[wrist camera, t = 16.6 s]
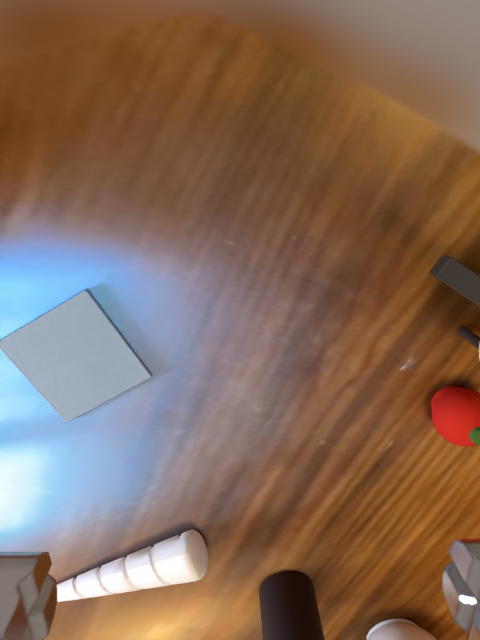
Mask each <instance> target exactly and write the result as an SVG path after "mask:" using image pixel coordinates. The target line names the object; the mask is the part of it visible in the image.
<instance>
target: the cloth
mask: <svg viewBox="0 0 480 640" xmlns="http://www.w3.org/2000/svg"><path fill="white" fill-rule="evenodd" d="M0 349H1V350H2V352H3V353H4V354H5V355H6V356H7V357H8V358H9V359H10V360H11V362H12V363H13V364H14V365H15V366H16V367H17V368H18V369H19V370H20V372H21V373H22V374H23V375H24V376H25V377H26V378H27V379H28V380H29V382H30V383H31V384H32V385H33V386H34V387H35V388H36V389H37V390H38V392H39V393H40V394H41V395H42V396H43V397H44V398H45V399H46V400H47V402H48V403H49V404H50V405H51V406H52V407H53V408H54V409H55V411H56V412H57V413H58V414H59V415H60V416H61V417H62V418H63V419H64V421H65V422H68V421H70V420H72V419H74V418H76V417H78V416H80V415H81V414H83V413H85V412H87V411H89V410H91V409H93V408H95V407H96V406H98V405H100V404H102V403H104V402H106V401H108V400H110V399H111V398H113V397H115V396H117V395H119V394H121V393H123V392H124V391H126V390H128V389H130V388H132V387H134V386H136V385H138V384H139V383H141V382H143V381H145V380H147V379H149V378H151V377H152V375H151V373H150V372H149V371H148V369H147V368H146V367H145V365H144V364H143V363H142V361H141V360H140V359H139V357H138V356H137V355H136V353H135V352H134V351H133V349H132V348H131V347H130V345H129V344H128V343H127V341H126V340H125V339H124V337H123V336H122V335H121V333H120V332H119V331H118V329H117V328H116V327H115V325H114V324H113V323H112V322H111V320H110V319H109V318H108V316H107V315H106V314H105V312H104V311H103V310H102V308H101V307H100V306H99V304H98V303H97V302H96V300H95V299H94V298H93V296H92V295H91V294H90V292H89V291H88V290H87V289H86V290H84V291H82V292H81V293H79V294H77V295H76V296H74V297H72V298H70V299H69V300H67V301H65V302H64V303H62V304H60V305H59V306H57V307H55V308H54V309H52V310H50V311H48V312H47V313H45V314H43V315H42V316H40V317H38V318H37V319H35V320H33V321H32V322H30V323H28V324H26V325H25V326H23V327H21V328H20V329H18V330H16V331H15V332H13V333H11V334H10V335H8V336H6V337H4V338H3V339H1V340H0Z"/></svg>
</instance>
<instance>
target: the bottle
mask: <svg viewBox="0 0 480 640" xmlns="http://www.w3.org/2000/svg"><path fill="white" fill-rule="evenodd" d="M260 608H261V620H262V632H263V640H324V635H323V630H322V625H321V621H320V616H319V611H318V606H317V601H316V596H315V592H314V588H313V585H312V583H311V581H310V580H309V579H308V578H307V577H306V576H303V575H301V574H299V573H294V572H282V573H278V574H275V575H273V576H271V577H269V578H268V579H267V580H266V581H265V582H264V583H263V584H262V586H261V588H260Z"/></svg>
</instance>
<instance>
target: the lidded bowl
mask: <svg viewBox="0 0 480 640" xmlns="http://www.w3.org/2000/svg"><path fill="white" fill-rule="evenodd" d="M366 640H437V639H436V638H435V637H434V636H432V635H431V634H430V633H429V632H427V631H426V630H424V629H422V628H420V627H418V626H417V625H416V624H415V623H414V622H412V621H410V620H407V619H401V618H396V619H389V620H385V621H382V622H380V623H378V624H376V625H375V626H374V627H372V628H371V629H370V631H369V632H368V634H367V638H366Z"/></svg>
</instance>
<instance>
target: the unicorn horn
mask: <svg viewBox="0 0 480 640" xmlns="http://www.w3.org/2000/svg"><path fill="white" fill-rule="evenodd" d="M207 566H208V555H207V549H206V545H205V542H204V540H203V538H202V536H201V535H200V533H199V532H197V531H195V530H193V529H192V530H188V531H186V532H184V533H182V534H181V536H179V535H176V536H174V537H171V538H169V539H166V540H164V541H161V542H159V543H156V544H155V545H154V546H153V547H152V546H149V547H146V548H144V549H142V550H139V551H137V552H134V553H132V554H129V555H127V557H125V556H124V557H122V558H119V559H117V560H114V561H112V562H109V563H107V564H104V565H102V566H101V568H100V567H97V568H95V569H92V570H90V571H87V572H85V573H83V574H80V575H78V576H77V578H76V579H75V578H74V577H73V578H71V579H69V580H67V581H64V582H62V583H60V584H58V585H57V602H61V601H69V600H77V599H84V598H87V597H90V598H91V597H98V596H104V595H111V594H115V593H124V592H130V591H136V590H141V589H148V588H155V587H161V586H167V585H171V584H180V583H186V582H193V581H197V580H200V579H201V578H202V577H203V576H204V575H205V573H206V570H207Z"/></svg>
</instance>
